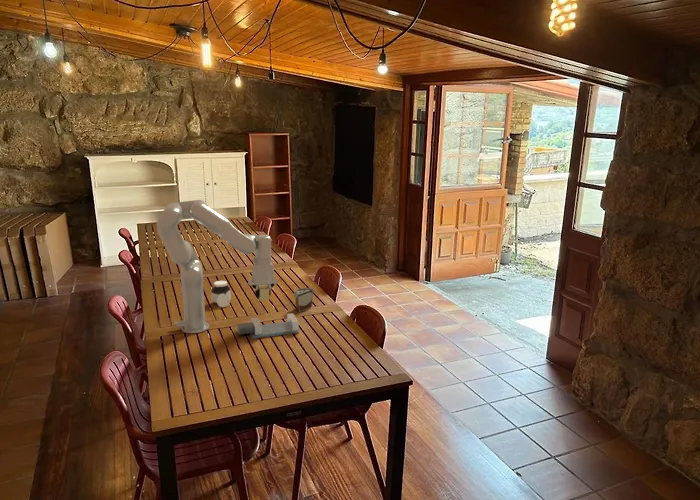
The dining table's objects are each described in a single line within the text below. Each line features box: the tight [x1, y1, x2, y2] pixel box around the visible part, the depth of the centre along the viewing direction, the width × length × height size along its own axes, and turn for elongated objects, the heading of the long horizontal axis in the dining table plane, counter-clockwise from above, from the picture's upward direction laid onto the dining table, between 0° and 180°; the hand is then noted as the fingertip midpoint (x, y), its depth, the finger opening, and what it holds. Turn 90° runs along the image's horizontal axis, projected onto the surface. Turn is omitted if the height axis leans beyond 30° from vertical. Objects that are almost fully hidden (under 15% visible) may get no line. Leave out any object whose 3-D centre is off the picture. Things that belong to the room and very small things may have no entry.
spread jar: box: [210, 280, 232, 308], centre depth 267 cm, size 12×11×12 cm
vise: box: [249, 312, 300, 340], centre depth 234 cm, size 22×11×6 cm, turn 110°
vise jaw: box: [236, 316, 262, 335], centre depth 230 cm, size 10×11×4 cm
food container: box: [293, 287, 314, 313], centre depth 263 cm, size 12×6×10 cm, turn 141°
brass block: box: [257, 285, 270, 302], centre depth 241 cm, size 4×8×6 cm, turn 21°
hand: (262, 296), depth 242 cm, fingers closed on brass block, 4 cm apart
